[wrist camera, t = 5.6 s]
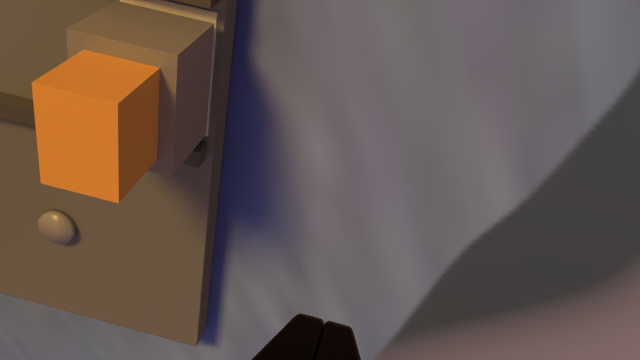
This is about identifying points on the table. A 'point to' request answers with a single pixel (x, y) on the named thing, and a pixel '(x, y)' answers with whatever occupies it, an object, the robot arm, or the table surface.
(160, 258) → the panel
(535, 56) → the table surface
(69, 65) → the toggle
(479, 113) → the table surface
